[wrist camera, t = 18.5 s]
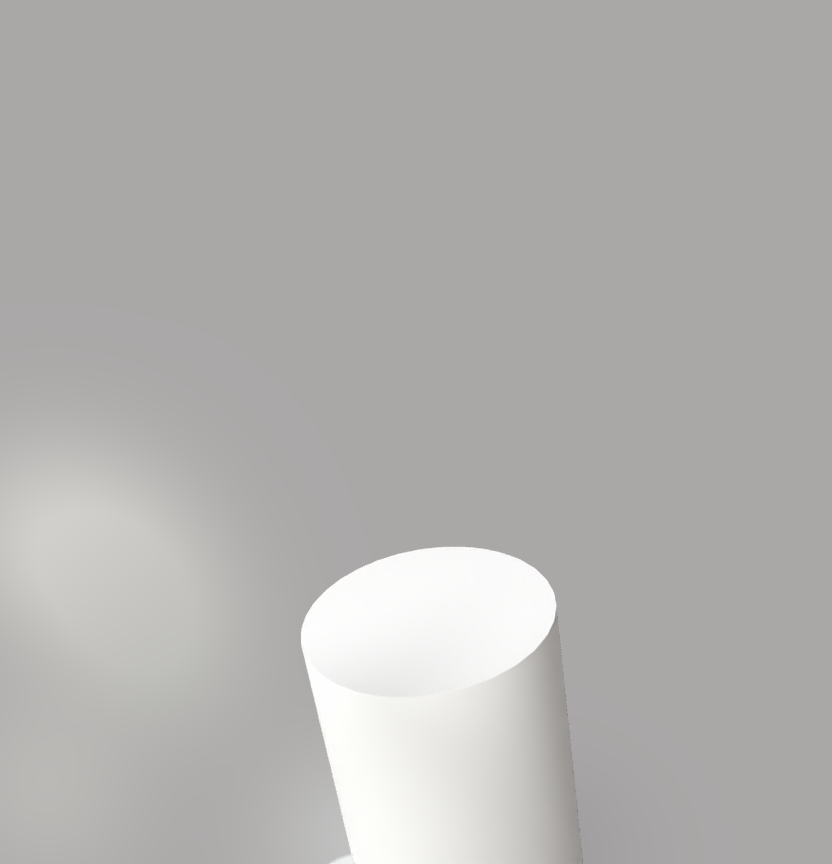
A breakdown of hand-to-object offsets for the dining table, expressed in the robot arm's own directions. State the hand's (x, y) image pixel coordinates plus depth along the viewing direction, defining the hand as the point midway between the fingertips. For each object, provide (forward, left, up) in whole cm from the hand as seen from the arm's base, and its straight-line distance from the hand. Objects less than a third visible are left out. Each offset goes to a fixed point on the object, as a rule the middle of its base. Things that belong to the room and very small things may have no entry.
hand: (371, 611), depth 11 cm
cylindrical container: (-3, -9, -32) cm, 33 cm away
